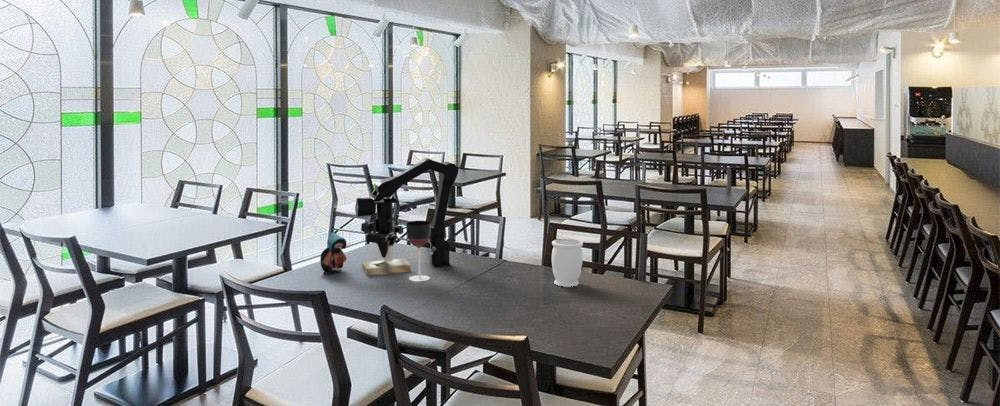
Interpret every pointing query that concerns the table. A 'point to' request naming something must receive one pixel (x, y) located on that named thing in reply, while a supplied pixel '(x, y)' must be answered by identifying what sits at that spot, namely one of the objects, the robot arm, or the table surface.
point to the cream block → (388, 256)
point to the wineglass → (418, 241)
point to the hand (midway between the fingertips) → (385, 256)
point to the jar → (567, 261)
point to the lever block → (386, 267)
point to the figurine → (333, 255)
